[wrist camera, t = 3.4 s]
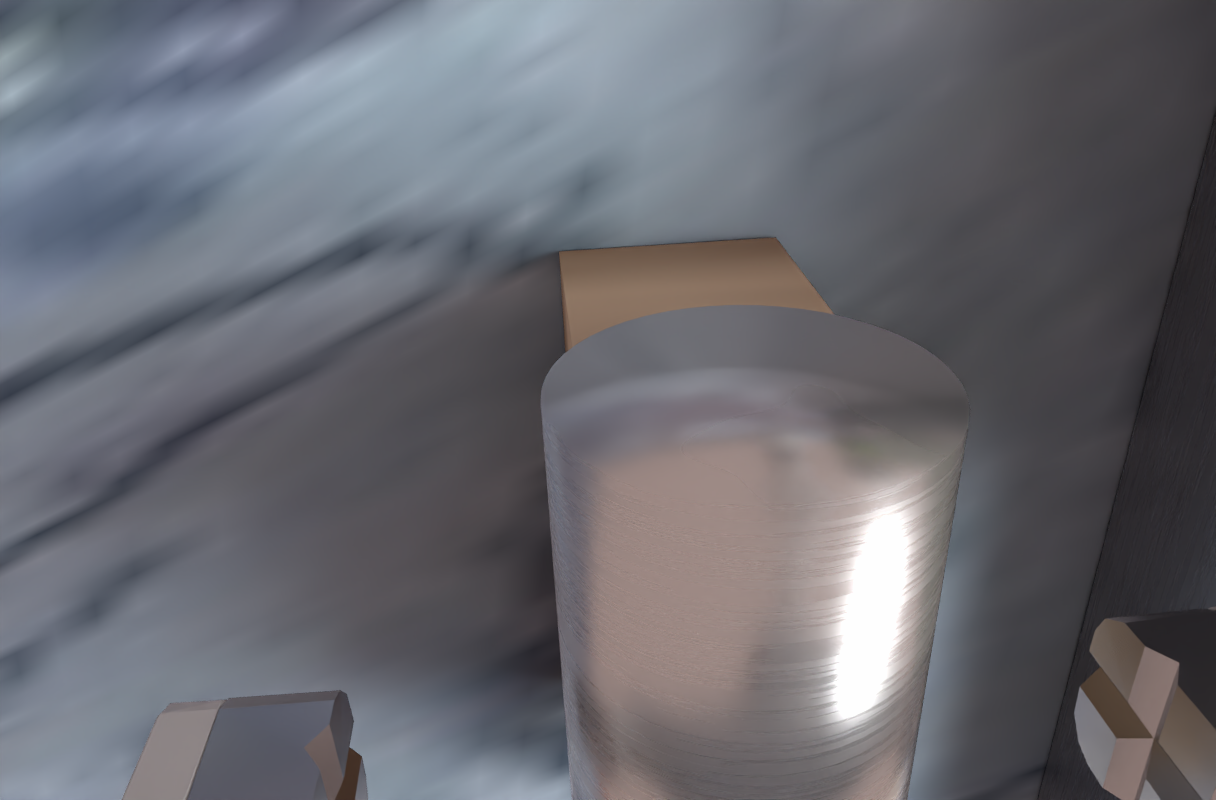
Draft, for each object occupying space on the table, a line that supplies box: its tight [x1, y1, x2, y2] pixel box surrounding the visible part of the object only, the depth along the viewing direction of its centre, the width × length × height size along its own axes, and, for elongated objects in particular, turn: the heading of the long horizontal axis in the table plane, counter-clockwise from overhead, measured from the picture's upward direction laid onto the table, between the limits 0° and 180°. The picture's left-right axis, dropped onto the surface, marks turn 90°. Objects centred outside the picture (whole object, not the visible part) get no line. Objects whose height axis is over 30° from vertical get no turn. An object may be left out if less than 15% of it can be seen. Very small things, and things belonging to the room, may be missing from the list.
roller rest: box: [559, 237, 834, 353], centre depth 11 cm, size 6×2×2 cm, turn 2°
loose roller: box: [541, 305, 970, 800], centre depth 9 cm, size 7×3×3 cm, turn 2°
